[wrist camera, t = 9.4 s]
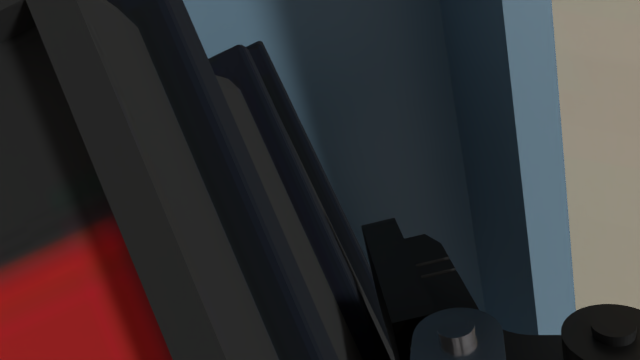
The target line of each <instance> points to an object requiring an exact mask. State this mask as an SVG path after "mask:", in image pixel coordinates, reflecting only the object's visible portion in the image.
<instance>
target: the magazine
mask: <svg viewBox="0 0 640 360" xmlns="http://www.w3.org/2000/svg"><path fill="white" fill-rule="evenodd" d="M0 360H395V358H394V354H393V351H392V347H391V344H390V341H389V337H388V334H387V330H386V327H385V323H384V320H383V316H382V313H381V309H380V305H379V301H378V297H377V293H376V289H375V285H374V280H373V276H372V271H371V267H370V265H369V263H368V261H367V259H366V257H365V255H364V253H363V251H362V249H361V246H360V244H359V242H358V240H357V238H356V236H355V234H354V232H353V230H352V228H351V226H350V223H349V221H348V219H347V217H346V215H345V213H344V211H343V209H342V207H341V205H340V203H339V200H338V198H337V196H336V194H335V192H334V190H333V188H332V186H331V184H330V182H329V180H328V178H327V175H326V173H325V171H324V169H323V167H322V165H321V163H320V161H319V159H318V157H317V155H316V152H315V150H314V148H313V146H312V144H311V142H310V140H309V138H308V136H307V134H306V132H305V129H304V127H303V125H302V123H301V121H300V119H299V117H298V115H297V113H296V111H295V109H294V106H293V104H292V102H291V100H290V98H289V96H288V94H287V92H286V90H285V88H284V86H283V83H282V81H281V79H280V77H279V75H278V73H277V71H276V69H275V67H274V65H273V63H272V61H271V58H270V56H269V54H268V52H267V50H266V48H265V46H264V44H263V42H262V41H257V42H255V43H253V44H251V45H249V46H247V47H245V46H243V45H236V46H234V47H232V48H230V49H228V50H225V51H223V52H221V53H219V54H217V55H215V56H213V57H211V58H209V59H208V57H207V55H206V53H205V51H204V48H203V46H202V44H201V41H200V39H199V37H198V34H197V32H196V30H195V28H194V25H193V23H192V21H191V18H190V16H189V14H188V11H187V9H186V7H185V5H184V2H183V0H0Z"/></svg>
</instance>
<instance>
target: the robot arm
mask: <svg viewBox="0 0 640 360" xmlns="http://www.w3.org/2000/svg"><path fill="white" fill-rule="evenodd" d="M361 227H362V232H363V237H364V241H365V245H366V250H367V254H368V258H369V263H370V267H371V271H372V276H373V280H374V285H375V289H376V293H377V297H378V301H379V305H380V309H381V313H382V316H383V320H384V323H385V327H386V330H387V334H388V337H389V341H390V344H391V347H392V351H393V354H394V358H395V360H640V310H639V309H636V308H632V307H628V306H623V305H615V304H600V305H593V306H588V307H585V308H582V309H579V310H577V311H575V312H574V313H572V314H570V315H569V316H568V317H567V318H566V319H565V321H564V322H563V325H562V327H561V335H525V334H517V333H513V332H509V331H506V330H503V329H502V327H501V325H500V323H499V322H498V321H497V320H496V319H495V318H494V317H493V316H491V315H490V314H488V313H486V312H483V311H480V310H479V309H478V307H477V305H476V303H475V302H474V300H473V298H472V296H471V295H470V293H469V291H468V289H467V288H466V286H465V284H464V282H463V281H462V279H461V277H460V275H459V274H458V272H457V271H456V270H455V267H454V265H453V263H452V261H451V260H450V259H449V256H448V254H447V253H446V251H445V249H444V247H443V246H442V244H441V243H440V242H438V241H436V240H435V239H433V238H431V237H429V236H428V235H426V234H422V235H418V236H414V237H409V238H405V239H404V237H403V235H402V233H401V231H400V229H399V226H398V224H397V222H396V220H395V218H390V219H386V220H382V221H378V222H374V223H370V224H365V225H361Z"/></svg>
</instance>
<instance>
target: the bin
mask: <svg viewBox="0 0 640 360" xmlns="http://www.w3.org/2000/svg"><path fill="white" fill-rule="evenodd" d="M183 2H184V5H185V7H186V9H187V11H188V14H189V16H190V18H191V21H192V23H193V25H194V28H195V30H196V32H197V34H198V37H199V39H200V41H201V44H202V46H203V48H204V51H205V53H206V55H207V57H208V59H209V58H211V57H213V56H215V55H217V54H219V53H221V52H223V51H225V50H228V49H230V48H232V47H234V46H236V45H243V46H245V47H247V46H249V45H251V44H253V43H255V42H257V41H262V42H263V44H264V46H265V48H266V50H267V52H268V54H269V56H270V58H271V61H272V63H273V65H274V67H275V69H276V71H277V73H278V75H279V77H280V79H281V81H282V83H283V86H284V88H285V90H286V92H287V94H288V96H289V98H290V100H291V102H292V104H293V106H294V109H295V111H296V113H297V115H298V117H299V119H300V121H301V123H302V125H303V127H304V129H305V132H306V134H307V136H308V138H309V140H310V142H311V144H312V146H313V148H314V150H315V152H316V155H317V157H318V159H319V161H320V163H321V165H322V167H323V169H324V171H325V173H326V175H327V178H328V180H329V182H330V184H331V186H332V188H333V190H334V192H335V194H336V196H337V198H338V200H339V203H340V205H341V207H342V209H343V211H344V213H345V215H346V217H347V219H348V221H349V223H350V226H351V228H352V230H353V232H354V234H355V236H356V238H357V240H358V242H359V244H360V246H361V249H362V251H363V253H364V255H365V257H366V259H367V261H368V263H369V258H368V254H367V250H366V245H365V241H364V237H363V232H362V227H361V225H365V224H370V223H374V222H378V221H382V220H386V219H390V218H395V220H396V222H397V224H398V226H399V229H400V231H401V233H402V235H403V237H404V239H405V238H409V237H414V236H418V235H422V234H426V235H428V236H429V237H431V238H433V239H435V240H436V241H438V242H440V243H441V244H442V246H443V247H444V249H445V251H446V253H447V254H448V256H449V259H450V260H451V261H452V263H453V265H454V267H455V270H456V271H457V272H458V274H459V275H460V277H461V279H462V281H463V282H464V284H465V286H466V288H467V289H468V291H469V293H470V295H471V296H472V298H473V300H474V302H475V303H476V305H477V307H478V309H479V310H480V311H483V312H486V313H488V314H490V315H491V316H493V317H494V318H495V319H496V320H497V321H498V322H499V323H500V325H501V327H502V329H503V330H506V331H509V332H513V333H517V334H525V335H561V327H562V325H563V322H564V321H565V319H566V318H567V317H568V316H569V315H570V314H572V313H574V312H575V311H576V308H575V295H574V282H573V270H572V257H571V244H570V231H569V219H568V206H567V193H566V181H565V168H564V155H563V142H562V130H561V117H560V104H559V91H558V79H557V66H556V53H555V41H554V28H553V15H552V2H551V0H183ZM369 265H370V263H369Z"/></svg>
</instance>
